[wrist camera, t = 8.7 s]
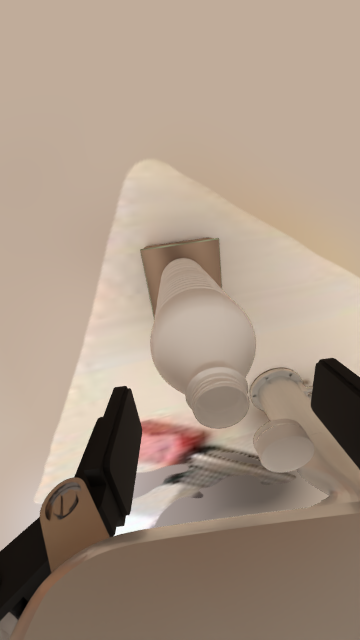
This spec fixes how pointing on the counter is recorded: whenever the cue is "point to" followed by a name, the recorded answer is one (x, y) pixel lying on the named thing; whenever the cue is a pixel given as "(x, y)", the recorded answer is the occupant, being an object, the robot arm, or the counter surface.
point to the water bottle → (216, 361)
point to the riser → (162, 255)
